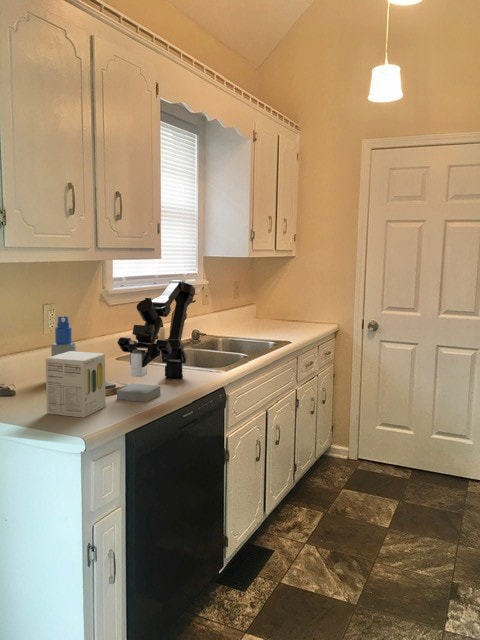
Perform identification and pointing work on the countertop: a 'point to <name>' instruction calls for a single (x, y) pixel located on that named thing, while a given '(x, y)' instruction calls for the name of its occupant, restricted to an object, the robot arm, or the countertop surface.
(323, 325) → the countertop surface
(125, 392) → the block
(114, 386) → the tan wooden board
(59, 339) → the spray bottle
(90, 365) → the supplement box
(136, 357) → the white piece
